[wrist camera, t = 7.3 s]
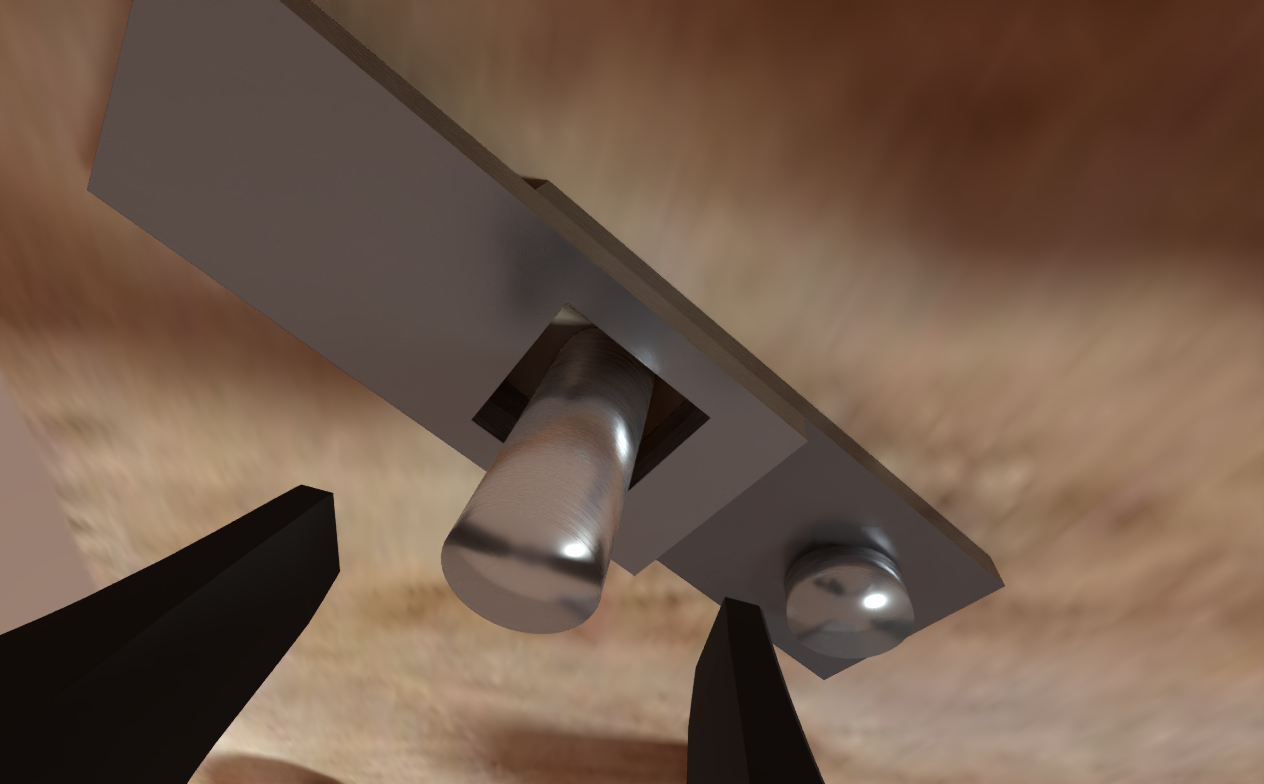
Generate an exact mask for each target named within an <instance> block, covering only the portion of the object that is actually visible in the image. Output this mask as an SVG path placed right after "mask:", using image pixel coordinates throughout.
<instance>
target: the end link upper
mask: <svg viewBox="0 0 1264 784" xmlns="http://www.w3.org/2000/svg"><path fill="white" fill-rule="evenodd" d="M87 190H88V191H89V192H91V193H92V194H93V195H95V196H96V197H98V198H99V199H101V200H102V201H103V202H105V203H106V204H108V205H109V206H110V207H112V208H113V209H115V210H116V211H118V212H119V213H120V214H122V215H123V216H125V217H126V218H128V219H129V220H130V221H132V222H133V223H135V224H136V225H137V226H139V227H140V228H142V229H143V230H145V231H146V232H147V233H149V234H150V235H152V236H153V237H154V238H156V239H157V240H159V241H160V242H162V243H163V244H164V245H166V246H167V247H169V248H170V249H171V250H173V251H174V252H176V253H177V254H179V255H180V256H181V257H183V258H184V259H186V260H187V261H189V262H190V263H191V264H193V265H194V266H196V267H197V268H198V269H200V270H201V271H203V272H204V273H206V274H207V275H208V276H210V277H211V278H213V279H214V280H215V281H217V282H218V283H220V284H221V285H223V286H224V287H225V288H227V289H228V290H230V291H231V292H233V293H234V294H235V295H237V296H238V297H240V298H241V299H242V300H244V301H245V302H247V303H248V304H250V305H251V306H252V307H254V308H255V309H257V310H258V311H259V312H261V313H262V314H264V315H265V316H267V317H268V318H269V319H271V320H272V321H274V322H275V323H277V324H278V325H279V326H281V327H282V328H284V329H285V330H286V331H288V332H289V333H291V334H292V335H294V336H295V337H296V338H298V339H299V340H301V341H302V342H303V343H305V344H306V345H308V346H309V347H311V348H312V349H313V350H315V351H316V352H318V353H319V354H320V355H322V356H323V357H325V358H326V359H328V360H329V361H330V362H332V363H333V364H335V365H336V366H338V367H339V368H340V369H342V370H343V371H345V372H346V373H347V374H349V375H350V376H352V377H353V378H355V379H356V380H357V381H359V382H360V383H362V384H363V385H364V386H366V387H367V388H369V389H370V390H372V391H373V392H374V393H376V394H377V395H379V396H380V397H382V398H383V399H384V400H386V401H387V402H389V403H390V404H391V405H393V406H394V407H396V408H397V409H399V410H400V411H401V412H403V413H404V414H406V415H407V416H408V417H410V418H411V419H413V420H414V421H416V422H417V423H418V424H420V425H421V426H423V427H424V428H425V429H427V430H428V431H430V432H431V433H433V434H434V435H435V436H437V437H438V438H440V439H441V440H443V441H444V442H445V443H447V444H448V445H450V446H451V447H452V448H454V449H455V450H457V451H458V452H460V453H461V454H462V455H464V456H465V457H467V458H468V459H469V460H471V461H472V462H474V463H475V464H477V465H478V466H479V467H481V468H482V469H484V470H485V471H488V469H489V467H490V466H491V464H492V462H493V461H494V459H495V457H496V456H497V454H498V452H499V451H500V449H501V447H502V446H503V444H504V443H505V441H506V439H507V438H508V436H509V434H510V433H511V431H512V429H513V428H514V426H515V424H516V423H517V420H516V419H514V418H513V417H512V416H510V415H509V414H508V413H506V412H505V411H504V410H502V409H501V408H500V407H498V406H497V405H495V404H494V403H493V402H491V401H490V400H489V398H490V396H491V395H492V394H493V393H494V391H495V390H496V389H497V388H498V386H499V385H500V384H501V383H502V382H503V380H504V379H505V378H506V377H507V375H508V374H509V373H510V372H511V370H512V369H513V368H514V367H515V366H516V364H517V363H518V362H519V361H520V359H521V358H522V357H523V356H524V355H525V353H526V352H527V351H528V350H529V348H530V347H531V346H532V345H533V343H534V342H535V341H536V340H537V339H538V337H539V336H540V335H541V334H542V332H543V331H544V330H545V329H546V328H547V326H548V325H549V324H550V323H551V321H552V320H553V319H554V318H555V316H556V315H557V314H558V313H559V312H560V310H561V309H562V308H563V307H564V305H565V304H566V303H569V304H570V305H571V306H572V307H574V308H575V309H576V310H577V311H579V312H580V313H581V314H582V315H584V316H585V317H586V318H587V319H589V320H590V321H591V322H592V323H593V324H595V325H596V326H597V327H598V328H600V329H601V330H602V331H603V332H605V333H606V334H607V335H608V336H610V337H611V338H612V339H613V340H615V341H616V342H617V343H618V344H620V345H621V346H622V347H623V348H625V349H626V350H627V351H628V352H630V353H631V354H632V355H633V356H634V357H636V358H637V359H638V360H639V361H641V362H642V363H643V364H644V365H646V366H647V367H648V368H649V369H651V370H652V371H653V372H654V373H656V374H657V375H658V376H659V377H661V378H662V379H663V380H664V381H666V382H667V383H668V384H669V385H671V386H672V387H673V388H674V389H675V390H677V391H678V392H679V393H680V394H682V395H683V396H684V397H685V398H687V399H688V400H689V401H690V402H692V403H693V404H694V405H695V406H697V407H698V408H697V409H696V410H695V411H694V412H693V413H692V414H691V415H690V416H689V417H688V418H687V419H685V420H684V421H683V422H682V423H681V424H680V425H679V426H678V427H677V428H676V429H674V430H673V431H672V432H671V433H670V434H669V435H668V436H667V437H666V438H665V439H664V440H662V441H661V442H660V443H659V444H658V445H657V446H656V447H655V448H654V449H653V450H652V451H650V452H649V453H648V454H647V455H646V456H645V457H644V458H643V459H642V460H641V461H640V462H638V463H637V464H636V465H635V466H634V468H633V472H632V476H631V480H630V484H629V488H628V492H627V496H626V500H625V504H624V508H623V512H622V516H621V520H620V523H619V527H618V531H617V535H616V539H615V543H614V547H613V551H612V555H611V560H613V561H614V562H616V563H617V564H618V565H620V566H621V567H623V568H624V569H626V570H627V571H628V572H630V573H631V574H633V575H634V576H635V575H636V574H638V573H639V572H640V571H642V570H643V569H644V568H645V567H647V566H648V565H649V564H651V563H652V562H653V561H655V560H656V559H657V558H658V557H660V556H661V555H662V554H664V553H665V552H666V551H667V550H669V549H670V548H671V547H673V546H674V545H675V544H676V543H678V542H679V541H680V540H682V539H683V538H684V537H685V536H687V535H688V534H689V533H691V532H692V531H693V530H694V529H696V528H697V527H698V526H700V525H701V524H702V523H703V522H705V521H706V520H707V519H709V518H710V517H711V516H712V515H714V514H715V513H716V512H718V511H719V510H720V509H721V508H723V507H724V506H725V505H727V504H728V503H729V502H731V501H732V500H733V499H734V498H736V497H737V496H738V495H740V494H741V493H742V492H743V491H745V490H746V489H747V488H749V487H750V486H751V485H752V484H754V483H755V482H756V481H758V480H759V479H760V478H761V477H763V476H764V475H765V474H767V473H768V472H769V471H770V470H772V469H773V468H774V467H776V466H777V465H778V464H779V463H781V462H782V461H783V460H785V459H786V458H787V457H788V456H790V455H791V454H792V453H794V452H795V451H796V450H797V449H799V448H800V447H801V446H803V445H804V444H805V443H807V442H808V437H807V431H806V426H805V421H804V416H803V415H802V414H800V413H799V412H798V411H797V410H796V409H795V408H793V407H792V406H791V405H790V404H789V403H787V402H786V401H785V400H784V399H783V398H781V397H780V396H779V395H778V394H777V393H776V392H774V391H773V390H772V389H771V388H770V387H768V386H767V385H766V384H765V383H764V382H763V381H761V380H760V379H759V378H758V377H757V376H755V375H754V374H753V373H752V372H751V371H749V370H748V369H747V368H746V367H745V366H744V365H742V364H741V363H740V362H739V361H738V360H736V359H735V358H734V357H733V356H732V355H730V354H729V353H728V352H727V351H726V350H725V349H723V348H722V347H721V346H720V345H719V344H717V343H716V342H715V341H714V340H713V339H711V338H710V337H709V336H708V335H707V334H706V333H704V332H703V331H702V330H701V329H700V328H698V327H697V326H696V325H695V324H694V323H693V322H691V321H690V320H689V319H688V318H687V317H685V316H684V315H683V314H682V313H681V312H679V311H678V310H677V309H676V308H675V307H674V306H672V305H671V304H670V303H669V302H668V301H666V300H665V299H664V298H663V297H662V296H660V295H659V294H658V293H657V292H656V291H655V290H653V289H652V288H651V287H650V286H649V285H647V284H646V283H645V282H644V281H643V280H641V279H640V278H639V277H638V276H637V275H636V274H634V273H633V272H632V271H631V270H630V269H628V268H627V267H626V266H625V265H624V264H623V263H621V262H620V261H619V260H618V259H617V258H615V257H614V256H613V255H612V254H611V253H609V252H608V251H607V250H606V249H605V248H604V247H602V246H601V245H600V244H599V243H598V242H596V241H595V240H594V239H593V238H592V237H590V236H589V235H588V234H587V233H586V232H585V231H583V230H582V229H581V228H580V227H579V226H577V225H576V224H575V223H574V222H573V221H571V220H570V219H569V218H568V217H567V216H566V215H564V214H563V213H562V212H561V211H560V210H558V209H557V208H556V207H555V206H554V205H553V204H551V203H550V202H549V201H548V200H547V199H545V198H544V197H543V196H542V195H541V194H539V193H538V192H537V191H536V190H535V189H534V188H532V187H531V186H530V185H529V184H528V183H526V182H525V181H524V180H523V179H522V178H520V177H519V176H518V175H517V174H516V173H515V172H513V171H512V170H511V169H510V168H509V167H507V166H506V165H505V164H504V163H503V162H502V161H500V160H499V159H498V158H497V157H496V156H494V155H493V154H492V153H491V152H490V151H488V150H487V149H486V148H485V147H484V146H483V145H481V144H480V143H479V142H478V141H477V140H475V139H474V138H473V137H472V136H471V135H469V134H468V133H467V132H466V131H465V130H464V129H462V128H461V127H460V126H459V125H458V124H456V123H455V122H454V121H453V120H452V119H450V118H449V117H448V116H447V115H446V114H445V113H443V112H442V111H441V110H440V109H439V108H437V107H436V106H435V105H434V104H433V103H432V102H430V101H429V100H428V99H427V98H426V97H424V96H423V95H422V94H421V93H420V92H418V91H417V90H416V89H415V88H414V87H413V86H411V85H410V84H409V83H408V82H407V81H405V80H404V79H403V78H402V77H401V76H399V75H398V74H397V73H396V72H395V71H394V70H392V69H391V68H390V67H389V66H388V65H386V64H385V63H384V62H383V61H382V60H380V59H379V58H378V57H377V56H376V55H375V54H373V53H372V52H371V51H370V50H369V49H367V48H366V47H365V46H364V45H363V44H362V43H360V42H359V41H358V40H357V39H356V38H354V37H353V36H352V35H351V34H350V33H348V32H347V31H346V30H345V29H344V28H343V27H341V26H340V25H339V24H338V23H337V22H335V21H334V20H333V19H332V18H331V17H329V16H328V15H327V14H326V13H325V12H324V11H322V10H321V9H320V8H319V7H318V6H316V5H315V4H314V3H313V2H312V1H310V0H133V2H132V6H131V11H130V15H129V19H128V23H127V27H126V31H125V35H124V40H123V44H122V48H121V52H120V56H119V60H118V64H117V68H116V73H115V77H114V81H113V85H112V89H111V93H110V97H109V102H108V106H107V110H106V114H105V118H104V122H103V126H102V130H101V135H100V139H99V143H98V147H97V151H96V155H95V159H94V164H93V168H92V172H91V176H90V180H89V184H88V188H87Z"/></svg>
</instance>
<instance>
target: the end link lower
mask: <svg viewBox="0 0 1264 784" xmlns="http://www.w3.org/2000/svg"><path fill="white" fill-rule="evenodd" d="M535 190H536V191H537V192H538V193H539V194H541V195H542V196H543V197H544V198H545V199H547V200H548V201H549V202H550V203H551V204H553V205H554V206H555V207H556V208H557V209H558V210H560V211H561V212H562V213H563V214H564V215H566V216H567V217H568V218H569V219H570V220H571V221H573V222H574V223H575V224H576V225H577V226H579V227H580V228H581V229H582V230H583V231H585V232H586V233H587V234H588V235H589V236H590V237H592V238H593V239H594V240H595V241H596V242H598V243H599V244H600V245H601V246H602V247H604V248H605V249H606V250H607V251H608V252H609V253H611V254H612V255H613V256H614V257H615V258H617V259H618V260H619V261H620V262H621V263H623V264H624V265H625V266H626V267H627V268H628V269H630V270H631V271H632V272H633V273H634V274H636V275H637V276H638V277H639V278H640V279H641V280H643V281H644V282H645V283H646V284H647V285H649V286H650V287H651V288H652V289H653V290H655V291H656V292H657V293H658V294H659V295H660V296H662V297H663V298H664V299H665V300H666V301H668V302H669V303H670V304H671V305H672V306H674V307H675V308H676V309H677V310H678V311H679V312H681V313H682V314H683V315H684V316H685V317H687V318H688V319H689V320H690V321H691V322H693V323H694V324H695V325H696V326H697V327H698V328H700V329H701V330H702V331H703V332H704V333H706V334H707V335H708V336H709V337H710V338H711V339H713V340H714V341H715V342H716V343H717V344H719V345H720V346H721V347H722V348H723V349H725V350H726V351H727V352H728V353H729V354H730V355H732V356H733V357H734V358H735V359H736V360H738V361H739V362H740V363H741V364H742V365H744V366H745V367H746V368H747V369H748V370H749V371H751V372H752V373H753V374H754V375H755V376H757V377H758V378H759V379H760V380H761V381H763V382H764V383H765V384H766V385H767V386H768V387H770V388H771V389H772V390H773V391H774V392H776V393H777V394H778V395H779V396H780V397H781V398H783V399H784V400H785V401H786V402H787V403H789V404H790V405H791V406H792V407H793V408H795V409H796V410H797V411H798V412H799V413H800V414H802V415H803V416H804V421H805V426H806V431H807V437H808V442H807V443H805V444H804V445H803V446H801V447H800V448H799V449H797V450H796V451H795V452H794V453H792V454H791V455H790V456H788V457H787V458H786V459H785V460H783V461H782V462H781V463H779V464H778V465H777V466H776V467H774V468H773V469H772V470H770V471H769V472H768V473H767V474H765V475H764V476H763V477H761V478H760V479H759V480H758V481H756V482H755V483H754V484H752V485H751V486H750V487H749V488H747V489H746V490H745V491H743V492H742V493H741V494H740V495H738V496H737V497H736V498H734V499H733V500H732V501H731V502H729V503H728V504H727V505H725V506H724V507H723V508H721V509H720V510H719V511H718V512H716V513H715V514H714V515H712V516H711V517H710V518H709V519H707V520H706V521H705V522H703V523H702V524H701V525H700V526H698V527H697V528H696V529H694V530H693V531H692V532H691V533H689V534H688V535H687V536H685V537H684V538H683V539H682V540H680V541H679V542H678V543H676V544H675V545H674V546H673V547H671V548H670V549H669V550H667V551H666V552H665V553H664V554H662V555H661V556H660V557H658V558H657V559H656V560H658V561H659V562H660V563H662V564H663V565H665V566H666V567H667V568H669V569H670V570H671V571H673V572H674V573H676V574H677V575H678V576H680V577H681V578H683V579H684V580H685V581H687V582H688V583H690V584H691V585H692V586H694V587H695V588H697V589H698V590H699V591H701V592H702V593H703V594H705V595H706V596H708V597H709V598H710V599H712V600H713V601H715V602H716V603H717V604H719V605H720V606H721V605H722V603H723V600H724V598H725V597H728V598H732V599H736V600H740V601H743V602H747V603H751V604H755V605H759V606H760V608H761V609H762V611H763V613H764V617H765V620H766V624H767V627H768V631H769V634H770V637H771V641H772V643H773V644H774V645H776V646H777V647H779V648H780V649H781V650H783V651H784V652H785V653H787V654H788V655H790V656H791V657H792V658H794V659H795V660H797V661H798V662H799V663H801V664H802V665H804V666H805V667H806V668H808V669H809V670H811V671H812V672H813V673H815V674H816V675H817V676H819V677H820V678H822V679H823V680H825V679H827V678H829V677H831V676H833V675H835V674H837V673H839V672H841V671H843V670H845V669H846V668H848V667H850V666H852V665H854V664H856V663H858V662H860V661H862V660H864V659H866V658H868V657H871V656H876V655H879V654H882V653H884V652H887V651H889V650H891V649H893V648H894V647H896V646H897V645H899V644H900V643H901V642H902V641H903V640H904V639H905V638H906V637H908V636H910V635H912V634H914V633H916V632H918V631H920V630H921V629H923V628H925V627H927V626H929V625H931V624H933V623H935V622H937V621H939V620H941V619H943V618H945V617H947V616H948V615H950V614H952V613H954V612H956V611H958V610H960V609H962V608H964V607H966V606H968V605H970V604H972V603H973V602H975V601H977V600H979V599H981V598H983V597H985V596H987V595H989V594H991V593H993V592H995V591H997V590H998V589H1000V588H1002V587H1004V586H1005V585H1004V583H1003V581H1002V579H1001V577H1000V575H999V573H998V571H997V569H996V567H995V565H994V563H993V561H992V559H991V557H990V556H989V555H988V554H986V553H985V552H984V551H983V550H982V549H981V548H979V547H978V546H977V545H976V544H975V543H973V542H972V541H971V540H970V539H969V538H968V537H966V536H965V535H964V534H963V533H962V532H961V531H959V530H958V529H957V528H956V527H955V526H954V525H952V524H951V523H950V522H949V521H948V520H946V519H945V518H944V517H943V516H942V515H941V514H939V513H938V512H937V511H936V510H935V509H934V508H932V507H931V506H930V505H929V504H928V503H927V502H925V501H924V500H923V499H922V498H921V497H919V496H918V495H917V494H916V493H915V492H914V491H912V490H911V489H910V488H909V487H908V486H907V485H905V484H904V483H903V482H902V481H901V480H900V479H898V478H897V477H896V476H895V475H894V474H892V473H891V472H890V471H889V470H888V469H887V468H885V467H884V466H883V465H882V464H881V463H880V462H878V461H877V460H876V459H875V458H874V457H873V456H871V455H870V454H869V453H868V452H867V451H865V450H864V449H863V448H862V447H861V446H860V445H858V444H857V443H856V442H855V441H854V440H853V439H851V438H850V437H849V436H848V435H847V434H846V433H844V432H843V431H842V430H841V429H840V428H839V427H837V426H836V425H835V424H834V423H833V422H831V421H830V420H829V419H828V418H827V417H826V416H824V415H823V414H822V413H821V412H820V411H819V410H817V409H816V408H815V407H814V406H813V405H812V404H810V403H809V402H808V401H807V400H806V399H804V398H803V397H802V396H801V395H800V394H799V393H797V392H796V391H795V390H794V389H793V388H792V387H790V386H789V385H788V384H787V383H786V382H785V381H783V380H782V379H781V378H780V377H779V376H777V375H776V374H775V373H774V372H773V371H772V370H770V369H769V368H768V367H767V366H766V365H765V364H763V363H762V362H761V361H760V360H759V359H758V358H756V357H755V356H754V355H753V354H752V353H750V352H749V351H748V350H747V349H746V348H745V347H743V346H742V345H741V344H740V343H739V342H738V341H736V340H735V339H734V338H733V337H732V336H731V335H729V334H728V333H727V332H726V331H725V330H723V329H722V328H721V327H720V326H719V325H718V324H716V323H715V322H714V321H713V320H712V319H711V318H709V317H708V316H707V315H706V314H705V313H704V312H702V311H701V310H700V309H699V308H698V307H696V306H695V305H694V304H693V303H692V302H691V301H689V300H688V299H687V298H686V297H685V296H684V295H682V294H681V293H680V292H679V291H678V290H677V289H675V288H674V287H673V286H672V285H671V284H669V283H668V282H667V281H666V280H665V279H664V278H662V277H661V276H660V275H659V274H658V273H657V272H655V271H654V270H653V269H652V268H651V267H650V266H648V265H647V264H646V263H645V262H644V261H642V260H641V259H640V258H639V257H638V256H637V255H635V254H634V253H633V252H632V251H631V250H630V249H628V248H627V247H626V246H625V245H624V244H623V243H621V242H620V241H619V240H618V239H617V238H615V237H614V236H613V235H612V234H611V233H610V232H608V231H607V230H606V229H605V228H604V227H603V226H601V225H600V224H599V223H598V222H597V221H596V220H594V219H593V218H592V217H591V216H590V215H588V214H587V213H586V212H585V211H584V210H583V209H581V208H580V207H579V206H578V205H577V204H576V203H574V202H573V201H572V200H571V199H570V198H569V197H567V196H566V195H565V194H564V193H563V192H562V191H560V190H559V189H558V188H557V187H556V186H554V185H553V184H552V183H551V182H550V181H548V182H546V183H545V184H543V185H542V186H540V187H538V188H537V189H535ZM489 400H490V401H491V402H493V403H494V404H495V405H497V406H498V407H500V408H501V409H502V410H504V411H505V412H506V413H508V414H509V415H510V416H512V417H513V418H514V419H516V420H517V421H518V419H519V418H520V416H521V414H522V413H523V411H524V409H525V408H526V406H527V405H528V403H529V401H530V400H529V399H527V398H526V397H525V396H523V395H522V394H521V393H519V392H518V391H517V390H515V389H514V388H513V387H511V386H510V385H509V384H507V383H506V382H505V381H503V382H502V383H501V384H500V385H499V386H498V388H497V389H496V390H495V391H494V393H493V394H492V395H491V396H490V398H489ZM697 408H698V407H697V406H695V405H694V404H693V403H692V402H690V401H689V400H688V399H687V400H686V401H685V402H684V403H683V404H682V405H681V406H680V407H678V408H677V409H676V410H675V411H674V412H673V413H672V414H671V415H670V416H669V417H668V418H667V419H666V420H665V421H664V422H662V423H661V424H660V425H659V426H658V427H657V428H656V429H655V430H654V431H653V432H652V433H651V434H650V435H649V436H648V437H646V438H645V439H644V440H643V441H642V442H641V443H640V444H639V448H638V452H637V456H636V460H635V464H634V466H635V465H636V464H637V463H638V462H640V461H641V460H642V459H643V458H644V457H645V456H646V455H647V454H648V453H649V452H650V451H652V450H653V449H654V448H655V447H656V446H657V445H658V444H659V443H660V442H661V441H662V440H664V439H665V438H666V437H667V436H668V435H669V434H670V433H671V432H672V431H673V430H674V429H676V428H677V427H678V426H679V425H680V424H681V423H682V422H683V421H684V420H685V419H687V418H688V417H689V416H690V415H691V414H692V413H693V412H694V411H695V410H696V409H697Z"/></svg>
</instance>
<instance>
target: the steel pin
mask: <svg viewBox="0 0 1264 784" xmlns="http://www.w3.org/2000/svg"><path fill="white" fill-rule="evenodd" d="M654 384H655V373H654V372H653V371H652V370H651V369H649V368H648V367H647V366H646V365H644V364H643V363H642V362H641V361H639V360H638V359H637V358H636V357H634V356H633V355H632V354H631V353H630V352H628V351H627V350H626V349H625V348H623V347H622V346H621V345H620V344H618V343H617V342H616V341H615V340H613V339H612V338H611V337H610V336H608V335H607V334H606V333H605V332H603V331H602V330H601V329H600V328H591V329H586V330H583V331H581V332H579V333H577V334H575V335H574V336H572V337H571V338H570V339H569V340H567V342H566V343H565V344H564V345H563V347H562V348H561V350H560V352H559V353H558V355H557V357H556V358H555V360H554V362H553V363H552V365H551V367H550V368H549V370H548V371H547V373H546V375H545V376H544V378H543V380H542V381H541V383H540V385H539V386H538V388H537V390H536V391H535V393H534V395H533V396H532V398H531V400H530V401H529V403H528V405H527V406H526V408H525V409H524V411H523V413H522V414H521V416H520V418H519V419H518V421H517V423H516V424H515V426H514V428H513V429H512V431H511V433H510V434H509V436H508V438H507V439H506V441H505V443H504V444H503V446H502V447H501V449H500V451H499V452H498V454H497V456H496V457H495V459H494V461H493V462H492V464H491V466H490V467H489V469H488V471H487V472H486V474H485V476H484V477H483V479H482V481H481V482H480V484H479V485H478V487H477V489H476V490H475V492H474V494H473V495H472V497H471V499H470V500H469V502H468V504H467V505H466V507H465V509H464V510H463V512H462V514H461V515H460V517H459V519H458V520H457V522H456V524H455V525H454V527H453V528H452V530H451V532H450V533H449V535H448V537H447V538H446V540H445V542H444V545H443V548H442V553H441V564H442V569H443V573H444V575H445V578H446V580H447V582H448V584H449V586H450V587H451V589H452V590H453V592H454V593H455V594H456V595H457V597H458V598H459V599H460V600H461V601H462V602H463V603H464V604H465V605H466V606H467V607H469V608H470V609H471V610H473V611H474V612H475V613H477V614H478V615H480V616H481V617H483V618H485V619H487V620H489V621H491V622H493V623H495V624H497V625H500V626H502V627H505V628H508V629H511V630H515V631H520V632H525V633H533V634H551V633H558V632H562V631H566V630H569V629H572V628H574V627H577V626H578V625H580V624H582V623H583V622H585V621H586V620H587V619H588V618H589V617H590V616H591V615H592V614H593V613H594V612H595V610H596V608H597V607H598V604H599V602H600V599H601V595H602V591H603V587H604V583H605V579H606V575H607V571H608V567H609V563H610V559H611V555H612V551H613V547H614V543H615V539H616V535H617V531H618V527H619V523H620V520H621V516H622V512H623V508H624V504H625V500H626V496H627V492H628V488H629V484H630V480H631V476H632V472H633V468H634V464H635V460H636V456H637V452H638V448H639V444H640V440H641V436H642V432H643V429H644V425H645V421H646V417H647V413H648V409H649V405H650V401H651V397H652V393H653V389H654Z"/></svg>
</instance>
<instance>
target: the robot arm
mask: <svg viewBox="0 0 1264 784" xmlns="http://www.w3.org/2000/svg"><path fill="white" fill-rule="evenodd" d="M339 572H340V565H339V554H338V543H337V531H336V520H335V509H334V498H333V493H331V492H327V491H324V490H320V489H316V488H312V487H309V486H305V485H299V486H297V487H295V488H293V489H292V490H290V491H288V492H286V493H284V494H282V495H280V496H279V497H277V498H275V499H273V500H271V501H269V502H268V503H266V504H264V505H262V506H260V507H259V508H257V509H255V510H253V511H251V512H250V513H248V514H246V515H244V516H242V517H240V518H239V519H237V520H235V521H233V522H231V523H230V524H228V525H226V526H224V527H222V528H220V529H219V530H217V531H215V532H213V533H211V534H209V535H207V536H206V537H204V538H202V539H200V540H198V541H196V542H194V543H193V544H191V545H189V546H187V547H185V548H183V549H181V550H179V551H178V552H176V553H174V554H172V555H170V556H168V557H166V558H164V559H162V560H160V561H158V562H156V563H154V564H152V565H150V566H148V567H146V568H144V569H142V570H140V571H138V572H136V573H134V574H132V575H130V576H128V577H126V578H124V579H122V580H120V581H118V582H116V583H114V584H112V585H110V586H108V587H106V588H104V589H102V590H100V591H98V592H96V593H94V594H92V595H90V596H88V597H86V598H83V599H81V600H79V601H77V602H75V603H73V604H70V605H68V606H66V607H64V608H62V609H59V610H57V611H55V612H53V613H51V614H48V615H46V616H44V617H42V618H39V619H37V620H35V621H32V622H30V623H28V624H25V625H23V626H21V627H18V628H16V629H14V630H11V631H9V632H6V633H4V634H2V635H0V784H187V783H188V781H189V780H190V778H191V777H192V775H193V774H194V772H195V771H196V770H197V768H198V767H199V765H200V764H201V763H202V761H203V760H204V759H205V757H206V756H207V754H208V753H209V752H210V750H211V749H212V748H213V746H214V745H215V743H216V742H217V741H218V740H219V738H220V737H221V736H222V735H223V733H224V732H225V731H226V729H227V728H228V727H229V726H230V724H231V723H232V722H233V720H234V719H235V718H236V717H237V715H238V714H239V713H240V711H241V710H242V709H243V708H244V706H245V705H246V704H247V703H248V701H249V700H250V699H251V697H252V696H253V695H254V694H255V692H256V691H257V690H258V688H259V687H260V686H261V685H262V683H263V682H264V681H265V679H266V678H267V677H268V676H269V674H270V673H271V672H272V671H273V669H274V668H275V667H276V665H277V664H278V663H279V662H280V660H281V659H282V658H283V656H284V655H285V654H286V652H287V651H288V650H289V649H290V647H291V646H292V645H293V643H294V642H295V641H296V639H297V638H298V637H299V636H300V634H301V633H302V632H303V630H304V629H305V628H306V626H307V625H308V624H309V622H310V620H311V619H312V617H313V616H314V614H315V612H316V611H317V609H318V608H319V606H320V604H321V603H322V601H323V600H324V598H325V596H326V594H327V593H328V591H329V589H330V588H331V586H332V584H333V583H334V581H335V579H336V577H337V576H338V574H339ZM687 784H825V783H824V780H823V778H822V776H821V774H820V771H819V769H818V766H817V764H816V762H815V759H814V757H813V754H812V752H811V749H810V747H809V744H808V742H807V739H806V737H805V734H804V731H803V729H802V726H801V724H800V721H799V719H798V716H797V713H796V711H795V708H794V706H793V703H792V700H791V697H790V695H789V692H788V689H787V686H786V683H785V680H784V677H783V674H782V671H781V669H780V666H779V663H778V660H777V656H776V653H775V650H774V647H773V644H772V641H771V637H770V634H769V631H768V627H767V624H766V620H765V617H764V613H763V611H762V609H761V608H760V606H759V605H755V604H751V603H747V602H743V601H740V600H736V599H732V598H728V597H725V598H724V600H723V603H722V605H721V607H720V610H719V612H718V615H717V617H716V620H715V622H714V624H713V627H712V629H711V632H710V634H709V637H708V639H707V641H706V644H705V646H704V649H703V651H702V653H701V656H700V658H699V661H698V663H697V666H696V670H695V677H694V685H693V693H692V701H691V709H690V718H689V726H688V758H687Z"/></svg>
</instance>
